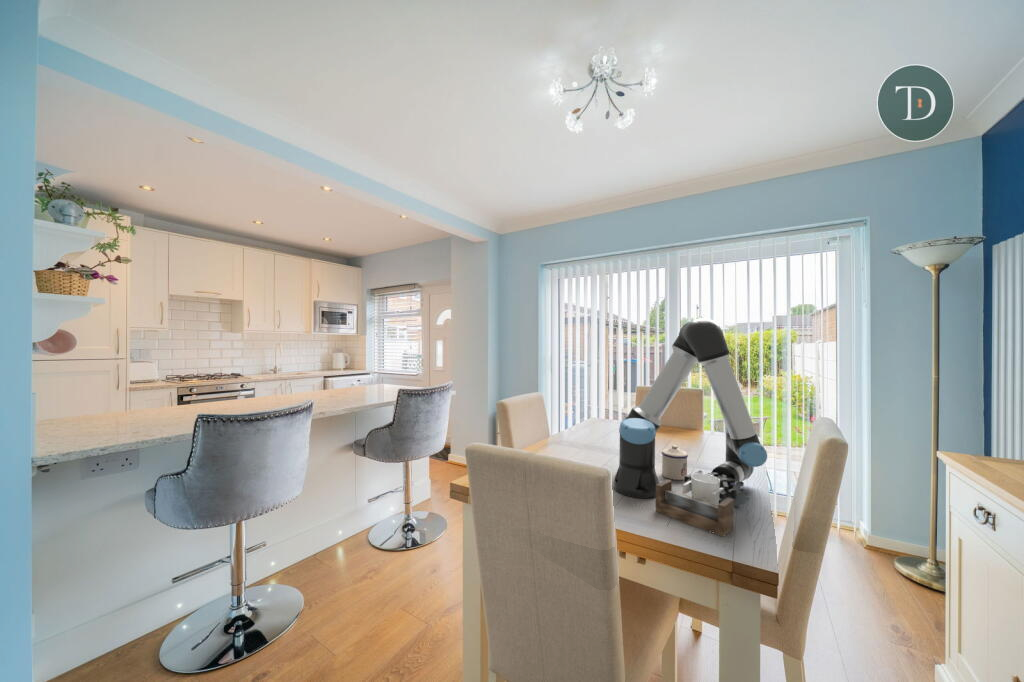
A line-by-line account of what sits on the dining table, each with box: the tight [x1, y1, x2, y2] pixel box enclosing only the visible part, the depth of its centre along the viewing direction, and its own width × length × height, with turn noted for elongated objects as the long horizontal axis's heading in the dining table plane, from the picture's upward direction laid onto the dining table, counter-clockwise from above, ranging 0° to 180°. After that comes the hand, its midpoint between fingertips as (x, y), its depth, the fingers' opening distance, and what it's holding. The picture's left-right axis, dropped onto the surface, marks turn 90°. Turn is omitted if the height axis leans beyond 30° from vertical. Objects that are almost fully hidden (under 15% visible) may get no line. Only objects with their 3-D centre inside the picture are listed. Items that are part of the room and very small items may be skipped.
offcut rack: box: [655, 478, 735, 537], centre depth 108 cm, size 19×7×8 cm, turn 41°
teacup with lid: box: [661, 444, 689, 481], centre depth 144 cm, size 12×9×12 cm
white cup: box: [690, 473, 720, 506], centre depth 114 cm, size 8×8×10 cm
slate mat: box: [719, 493, 751, 508], centre depth 124 cm, size 12×10×1 cm
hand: (698, 493), depth 110 cm, fingers closed on white cup, 8 cm apart
